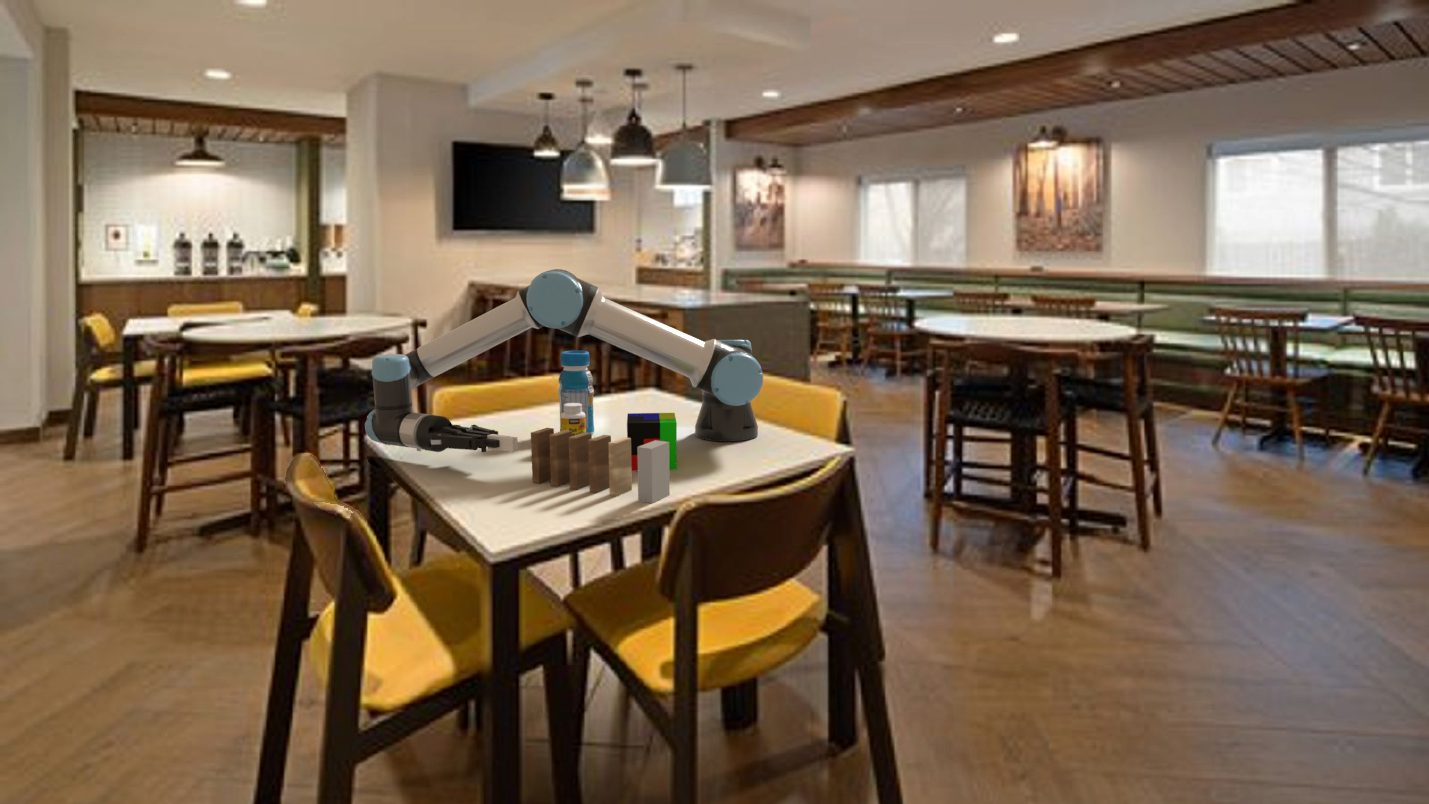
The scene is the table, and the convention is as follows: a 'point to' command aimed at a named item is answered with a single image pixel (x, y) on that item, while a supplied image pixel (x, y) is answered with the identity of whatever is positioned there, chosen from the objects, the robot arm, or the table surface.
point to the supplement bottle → (573, 418)
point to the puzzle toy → (652, 434)
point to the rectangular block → (653, 471)
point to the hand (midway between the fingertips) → (515, 444)
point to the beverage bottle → (577, 384)
